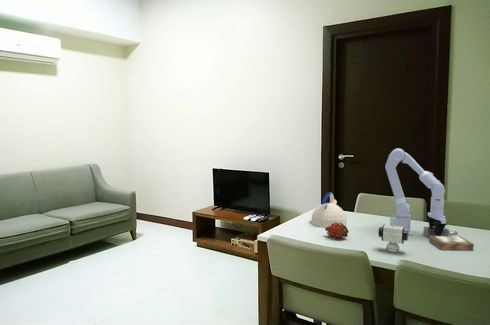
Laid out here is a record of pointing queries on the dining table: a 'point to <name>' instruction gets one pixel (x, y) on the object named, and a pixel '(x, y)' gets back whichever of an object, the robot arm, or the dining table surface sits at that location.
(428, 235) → the block
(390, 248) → the pneumatic valve
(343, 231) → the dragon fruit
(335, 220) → the kettle
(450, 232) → the loose bolt
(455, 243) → the stand
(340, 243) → the dining table surface
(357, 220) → the dining table surface
